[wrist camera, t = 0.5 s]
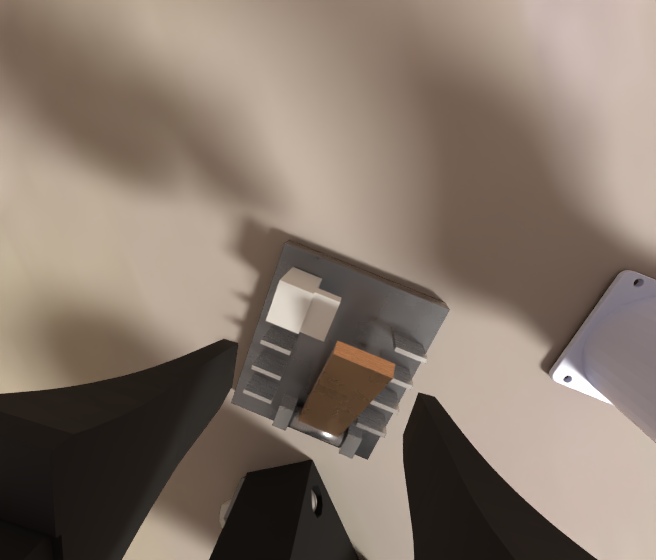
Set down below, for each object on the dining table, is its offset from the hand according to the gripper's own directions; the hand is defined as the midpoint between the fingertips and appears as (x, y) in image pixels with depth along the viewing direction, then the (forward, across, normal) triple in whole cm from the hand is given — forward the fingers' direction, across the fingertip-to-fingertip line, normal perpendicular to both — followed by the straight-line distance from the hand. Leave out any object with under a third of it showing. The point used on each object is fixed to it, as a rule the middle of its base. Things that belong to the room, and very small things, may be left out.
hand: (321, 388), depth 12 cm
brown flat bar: (+6, -1, +4) cm, 8 cm away
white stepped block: (+8, +3, 0) cm, 9 cm away
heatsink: (+10, 0, +4) cm, 11 cm away
